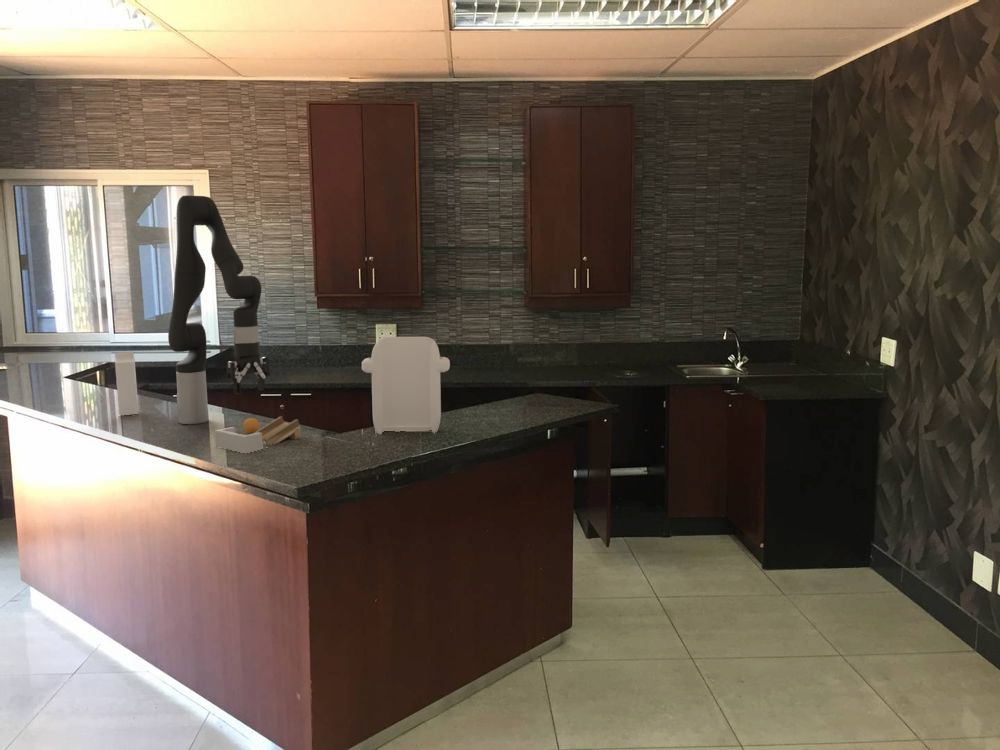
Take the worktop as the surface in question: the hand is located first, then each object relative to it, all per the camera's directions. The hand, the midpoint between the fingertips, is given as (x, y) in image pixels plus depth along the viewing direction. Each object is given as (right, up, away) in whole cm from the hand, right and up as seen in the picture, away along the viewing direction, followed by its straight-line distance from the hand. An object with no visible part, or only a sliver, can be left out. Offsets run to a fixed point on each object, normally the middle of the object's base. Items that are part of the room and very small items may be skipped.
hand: (249, 392), depth 259 cm
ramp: (+10, -14, -6) cm, 18 cm away
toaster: (+49, -13, +6) cm, 51 cm away
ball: (0, -11, +2) cm, 11 cm away
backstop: (+2, -16, -17) cm, 23 cm away
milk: (-53, -9, +33) cm, 63 cm away
